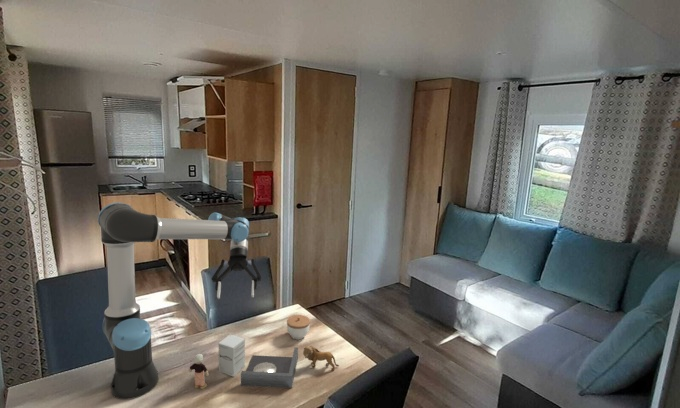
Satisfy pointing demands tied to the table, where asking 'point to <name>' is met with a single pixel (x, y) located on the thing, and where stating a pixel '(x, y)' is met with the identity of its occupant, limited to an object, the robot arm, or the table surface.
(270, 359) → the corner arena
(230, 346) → the supplement box
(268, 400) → the table surface
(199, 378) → the grandmother figurine
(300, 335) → the lidded jar
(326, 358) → the lion figurine
